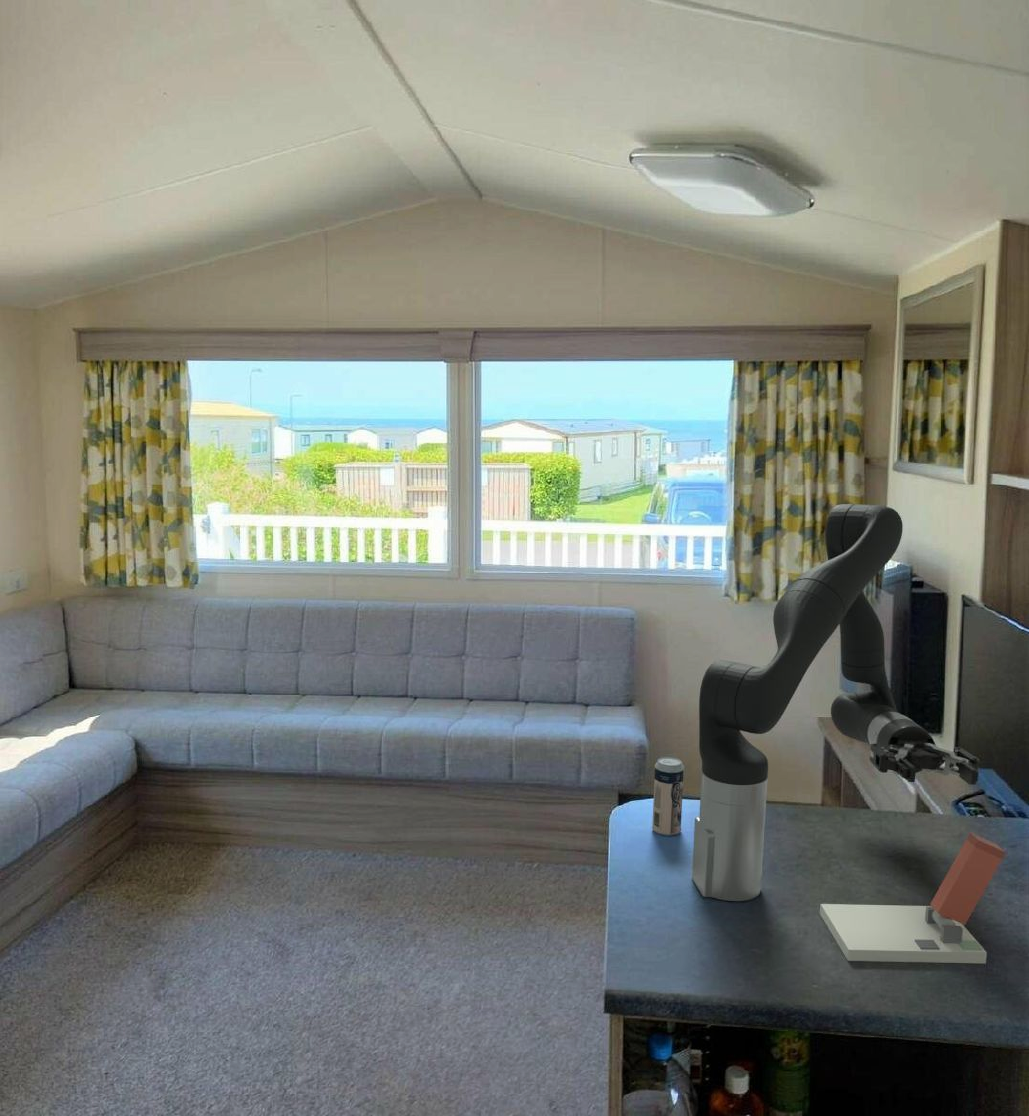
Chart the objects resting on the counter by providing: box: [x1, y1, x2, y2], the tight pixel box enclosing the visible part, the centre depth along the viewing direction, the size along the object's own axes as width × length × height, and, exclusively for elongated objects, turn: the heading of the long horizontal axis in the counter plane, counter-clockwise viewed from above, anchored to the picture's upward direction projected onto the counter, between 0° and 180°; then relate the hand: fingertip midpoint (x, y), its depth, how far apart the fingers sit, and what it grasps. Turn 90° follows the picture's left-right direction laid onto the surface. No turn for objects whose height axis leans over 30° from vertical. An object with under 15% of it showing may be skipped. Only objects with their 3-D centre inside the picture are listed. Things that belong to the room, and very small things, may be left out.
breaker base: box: [819, 903, 988, 965], centre depth 135 cm, size 18×12×4 cm
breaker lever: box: [930, 832, 1007, 928], centre depth 133 cm, size 4×3×13 cm
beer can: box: [651, 756, 685, 837], centre depth 167 cm, size 5×5×12 cm
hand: (943, 776), depth 142 cm, fingers open, 8 cm apart
